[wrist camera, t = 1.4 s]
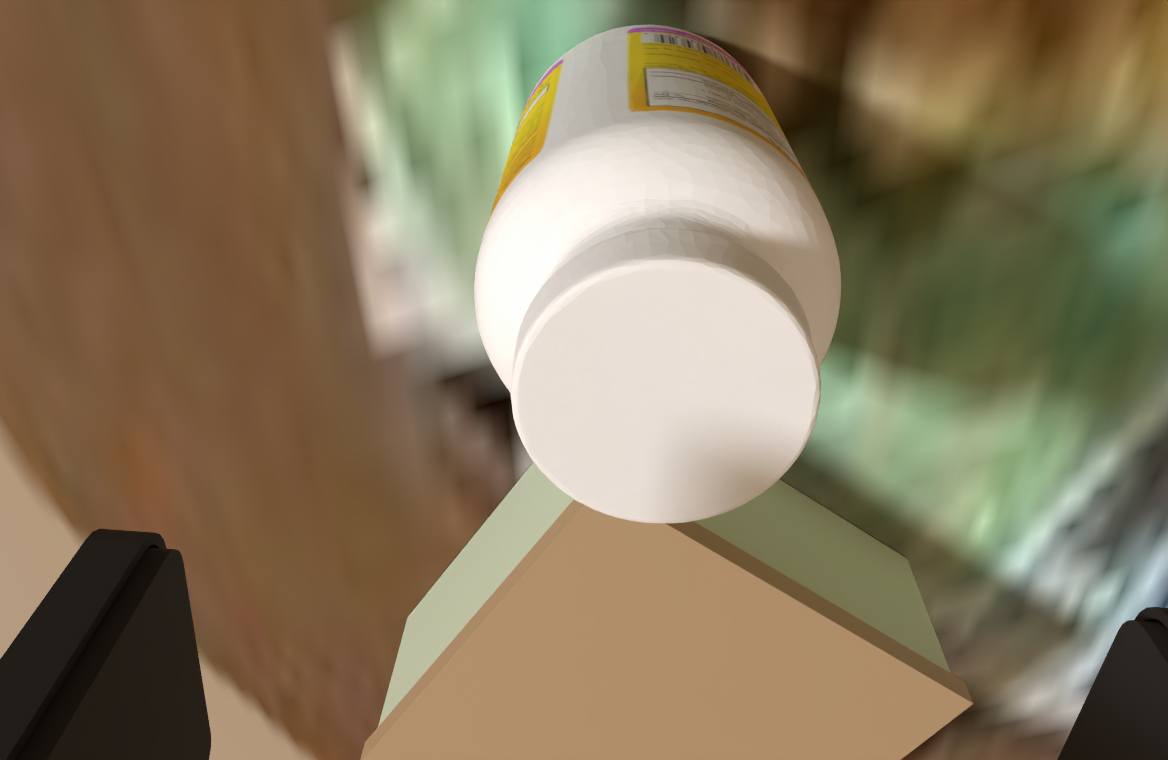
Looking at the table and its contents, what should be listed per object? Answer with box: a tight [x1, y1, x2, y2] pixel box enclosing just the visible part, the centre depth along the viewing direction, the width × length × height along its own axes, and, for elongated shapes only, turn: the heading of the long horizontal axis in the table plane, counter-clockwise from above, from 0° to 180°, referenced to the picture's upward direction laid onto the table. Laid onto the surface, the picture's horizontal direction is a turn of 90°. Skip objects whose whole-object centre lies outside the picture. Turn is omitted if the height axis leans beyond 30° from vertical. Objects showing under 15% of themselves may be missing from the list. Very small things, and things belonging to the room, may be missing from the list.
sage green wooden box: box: [360, 462, 973, 760], centre depth 31 cm, size 12×12×6 cm
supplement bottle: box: [474, 25, 841, 523], centre depth 20 cm, size 7×7×13 cm
